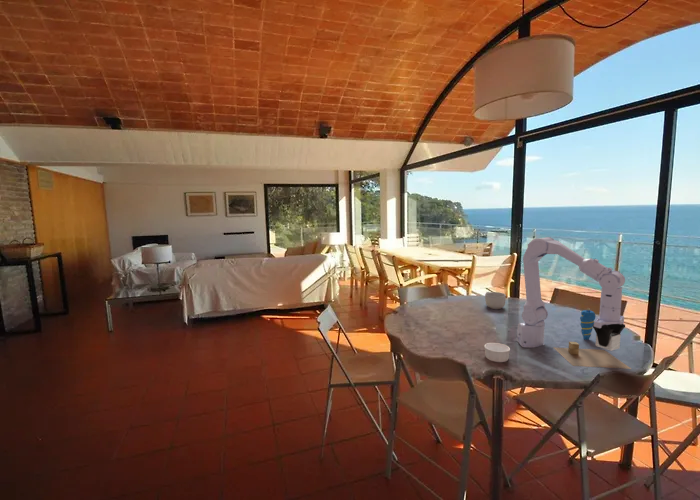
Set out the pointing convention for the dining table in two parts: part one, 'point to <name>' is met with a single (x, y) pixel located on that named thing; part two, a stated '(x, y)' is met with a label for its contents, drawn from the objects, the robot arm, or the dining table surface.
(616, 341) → the beige cube
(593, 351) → the board
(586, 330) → the ornament
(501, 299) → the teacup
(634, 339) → the dining table surface
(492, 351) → the ramekin
